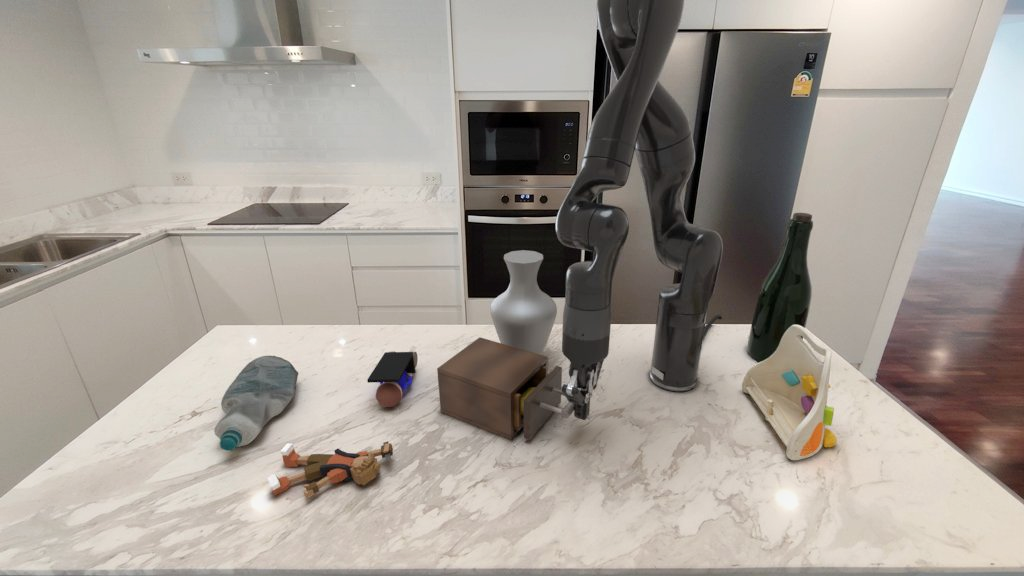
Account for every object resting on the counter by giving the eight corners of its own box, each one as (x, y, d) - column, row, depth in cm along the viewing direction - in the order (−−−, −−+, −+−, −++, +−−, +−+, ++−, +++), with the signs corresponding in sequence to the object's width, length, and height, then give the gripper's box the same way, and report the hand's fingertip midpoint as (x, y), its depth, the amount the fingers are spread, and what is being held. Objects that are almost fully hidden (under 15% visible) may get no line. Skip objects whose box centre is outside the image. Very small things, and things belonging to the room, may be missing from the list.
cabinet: (547, 399, 95) (548, 356, 91) (511, 440, 84) (510, 393, 80) (481, 377, 103) (479, 336, 99) (440, 412, 92) (436, 368, 88)
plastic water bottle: (244, 381, 102) (184, 464, 79) (240, 351, 99) (176, 427, 76) (309, 381, 104) (269, 461, 81) (306, 352, 101) (264, 426, 78)
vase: (516, 339, 118) (515, 241, 109) (567, 356, 110) (571, 252, 101) (479, 364, 107) (474, 259, 98) (532, 385, 100) (533, 273, 90)
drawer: (588, 411, 90) (591, 375, 87) (559, 452, 80) (560, 413, 77) (497, 381, 100) (496, 347, 97) (461, 413, 90) (458, 377, 87)
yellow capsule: (514, 419, 87) (531, 419, 85) (509, 401, 86) (525, 402, 84) (532, 400, 92) (548, 400, 90) (527, 383, 91) (543, 383, 89)
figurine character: (390, 376, 106) (369, 411, 92) (387, 344, 104) (365, 375, 90) (420, 376, 106) (403, 412, 91) (418, 344, 104) (400, 375, 89)
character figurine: (297, 430, 82) (395, 429, 79) (305, 452, 84) (401, 453, 81) (252, 482, 71) (364, 484, 68) (263, 507, 73) (372, 510, 70)
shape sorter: (852, 463, 78) (883, 370, 71) (785, 461, 79) (810, 368, 72) (793, 392, 96) (813, 312, 89) (739, 391, 97) (755, 312, 90)
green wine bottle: (802, 353, 110) (838, 212, 97) (791, 373, 103) (828, 223, 90) (753, 339, 116) (781, 205, 104) (739, 357, 109) (767, 214, 96)
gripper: (593, 351, 69) (587, 446, 76) (622, 316, 80) (615, 402, 86) (546, 339, 73) (544, 431, 80) (580, 307, 83) (576, 390, 90)
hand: (581, 416), depth 83 cm, fingers closed
